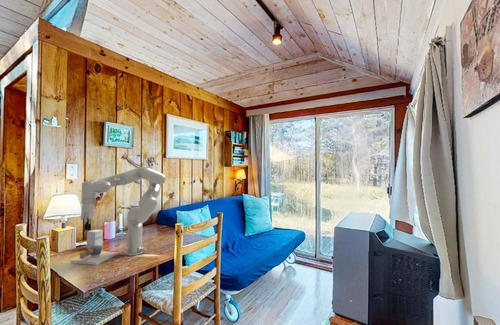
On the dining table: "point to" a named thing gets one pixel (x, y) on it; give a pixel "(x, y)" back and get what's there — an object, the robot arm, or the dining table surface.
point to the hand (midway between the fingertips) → (87, 230)
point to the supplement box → (94, 238)
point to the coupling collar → (91, 251)
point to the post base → (95, 258)
